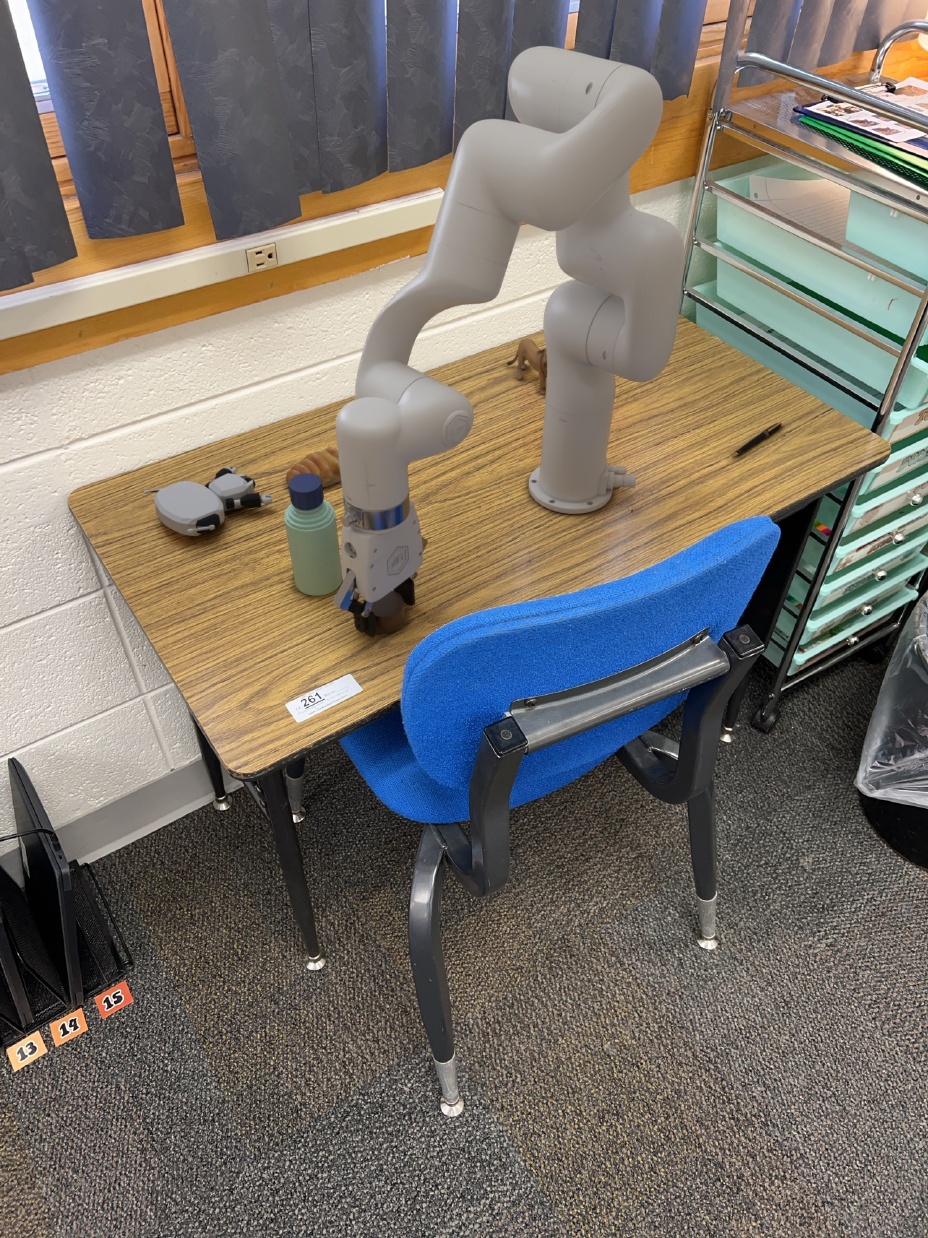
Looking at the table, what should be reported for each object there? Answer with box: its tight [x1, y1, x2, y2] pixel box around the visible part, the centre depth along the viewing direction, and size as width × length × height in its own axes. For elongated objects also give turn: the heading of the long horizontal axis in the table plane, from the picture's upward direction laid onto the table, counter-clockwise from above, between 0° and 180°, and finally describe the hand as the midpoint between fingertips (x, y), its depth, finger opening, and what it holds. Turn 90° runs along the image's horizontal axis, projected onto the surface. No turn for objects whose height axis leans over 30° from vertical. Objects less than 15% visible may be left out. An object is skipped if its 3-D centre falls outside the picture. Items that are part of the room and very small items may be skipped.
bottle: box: [283, 499, 343, 597], centre depth 118 cm, size 6×6×16 cm
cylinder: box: [371, 590, 406, 635], centre depth 117 cm, size 5×5×3 cm
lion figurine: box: [505, 338, 547, 396], centre depth 157 cm, size 15×5×9 cm, turn 44°
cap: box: [288, 473, 325, 510], centre depth 113 cm, size 4×4×3 cm
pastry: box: [285, 446, 341, 488], centre depth 138 cm, size 9×7×4 cm
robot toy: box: [142, 466, 273, 537], centre depth 132 cm, size 12×4×15 cm
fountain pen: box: [731, 421, 782, 458], centre depth 147 cm, size 14×1×2 cm, turn 134°
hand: (385, 615), depth 117 cm, fingers open, 6 cm apart
